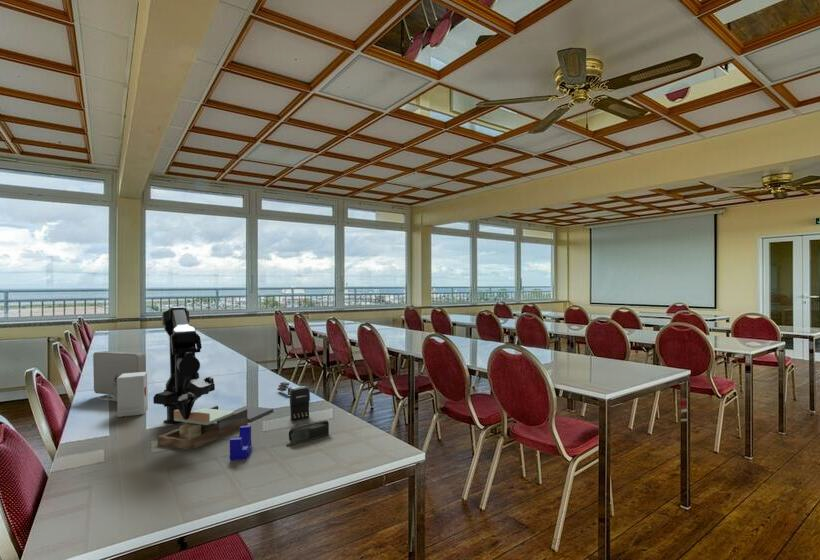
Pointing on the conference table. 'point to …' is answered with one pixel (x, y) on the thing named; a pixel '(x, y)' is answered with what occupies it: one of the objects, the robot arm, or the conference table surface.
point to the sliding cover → (203, 416)
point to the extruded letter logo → (284, 387)
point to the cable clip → (241, 444)
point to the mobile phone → (308, 432)
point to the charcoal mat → (254, 412)
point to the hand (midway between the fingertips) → (186, 419)
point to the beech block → (190, 431)
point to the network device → (114, 370)
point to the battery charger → (299, 403)
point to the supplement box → (132, 394)
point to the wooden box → (206, 431)
